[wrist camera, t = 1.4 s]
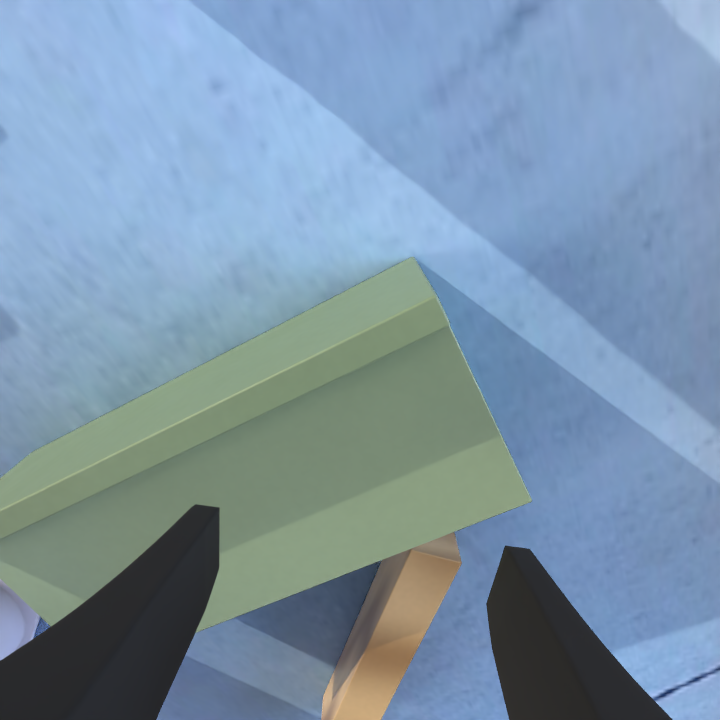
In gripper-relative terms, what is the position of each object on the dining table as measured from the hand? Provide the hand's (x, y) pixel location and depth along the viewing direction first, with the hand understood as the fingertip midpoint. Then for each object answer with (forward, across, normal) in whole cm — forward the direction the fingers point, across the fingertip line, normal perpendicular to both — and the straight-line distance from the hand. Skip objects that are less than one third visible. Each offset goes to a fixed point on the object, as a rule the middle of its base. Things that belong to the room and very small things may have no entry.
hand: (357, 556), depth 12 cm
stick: (+9, -2, +14) cm, 17 cm away
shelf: (+9, +5, +4) cm, 11 cm away
